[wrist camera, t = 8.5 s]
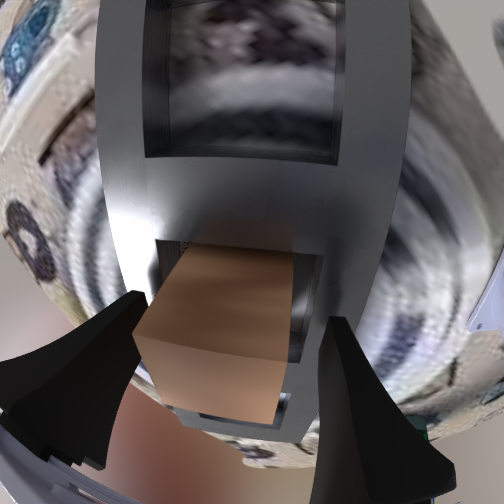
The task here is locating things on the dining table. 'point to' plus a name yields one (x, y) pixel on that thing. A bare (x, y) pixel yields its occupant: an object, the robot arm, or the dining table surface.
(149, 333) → the square block
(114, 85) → the grey flat perforated plate
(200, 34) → the dining table surface
